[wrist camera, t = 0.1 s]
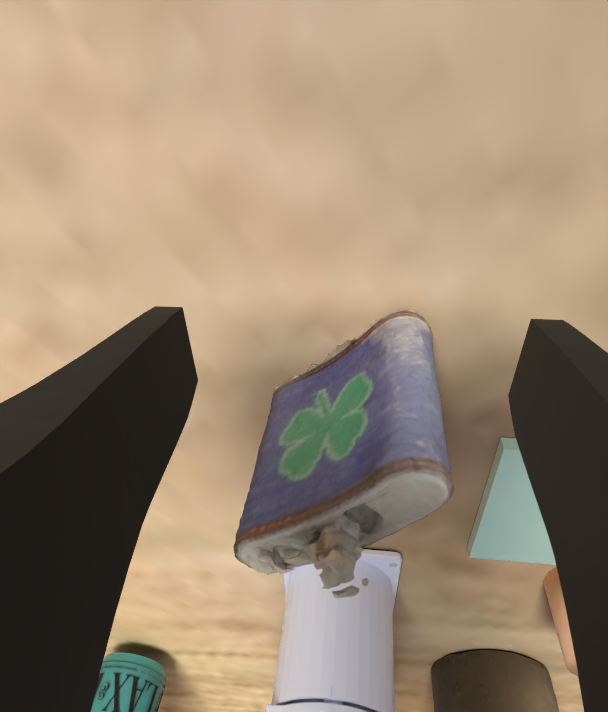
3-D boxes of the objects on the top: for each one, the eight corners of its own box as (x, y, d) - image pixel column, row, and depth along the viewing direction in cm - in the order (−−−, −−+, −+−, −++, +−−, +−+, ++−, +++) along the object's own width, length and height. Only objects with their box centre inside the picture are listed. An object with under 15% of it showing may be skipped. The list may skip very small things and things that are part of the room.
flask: (408, 296, 21) (431, 514, 13) (447, 340, 22) (491, 566, 14) (259, 393, 26) (204, 602, 17) (298, 426, 27) (264, 635, 18)
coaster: (634, 559, 31) (639, 571, 30) (467, 545, 32) (469, 557, 31) (710, 449, 24) (719, 462, 24) (500, 437, 26) (503, 449, 25)
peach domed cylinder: (611, 602, 34) (642, 685, 30) (534, 595, 34) (555, 676, 31) (639, 563, 31) (677, 650, 27) (555, 556, 31) (581, 640, 27)
